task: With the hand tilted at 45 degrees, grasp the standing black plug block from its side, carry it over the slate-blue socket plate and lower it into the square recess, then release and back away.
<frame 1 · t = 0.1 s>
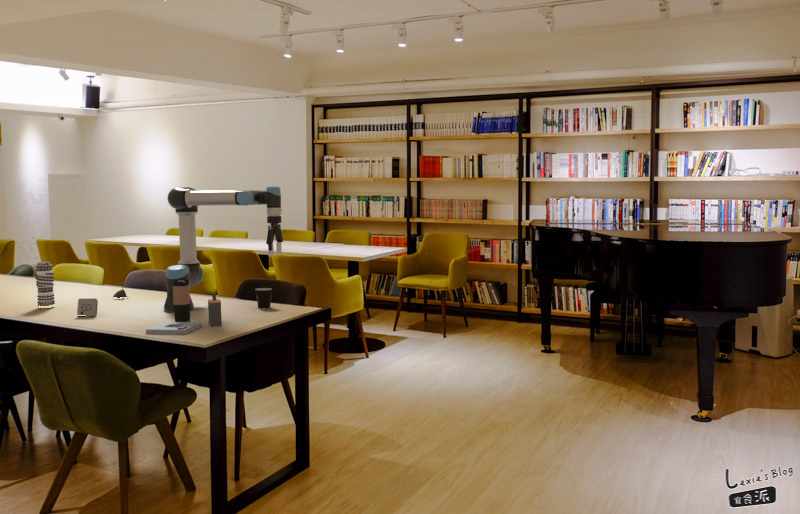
hand: (275, 255, 377), 28 cm above the table, tool pointing down, fingers open, 13 cm apart
socket plate: (174, 330, 321), on the table
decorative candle: (46, 308, 386), on the table
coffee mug: (265, 307, 381), on the table
plug: (215, 325, 332), on the table
sword in stone: (119, 299, 417), on the table
travel mug: (182, 321, 342), on the table
electrical switch: (87, 316, 359), on the table
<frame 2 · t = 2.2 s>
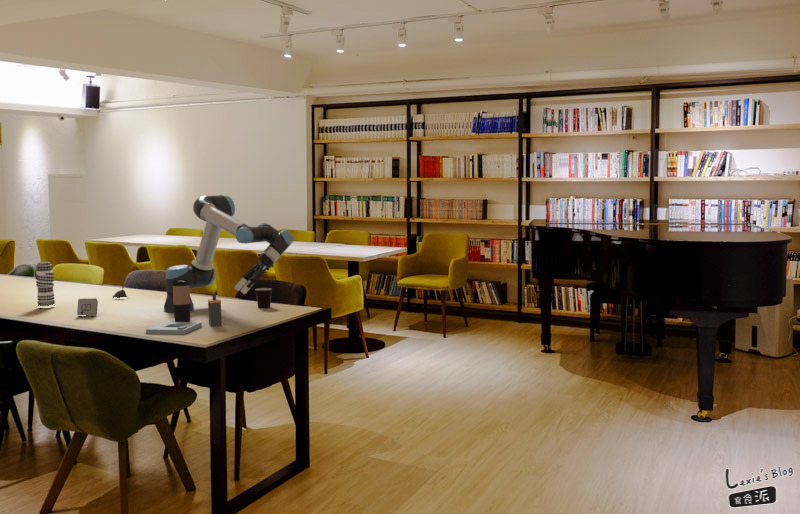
hand: (239, 291, 335), 15 cm above the table, tool tilted 45°, fingers open, 13 cm apart
nothing on the table moved.
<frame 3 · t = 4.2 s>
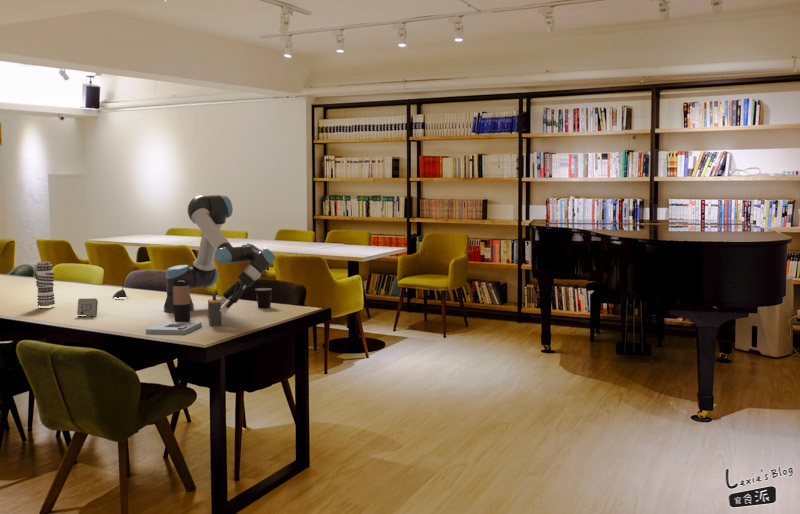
hand: (218, 310, 331), 7 cm above the table, tool tilted 45°, fingers open, 13 cm apart
nothing on the table moved.
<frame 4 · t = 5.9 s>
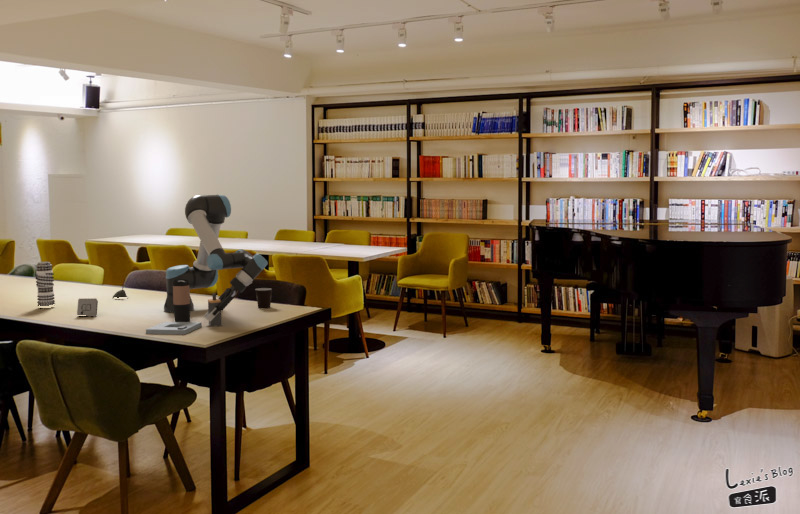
hand: (206, 318, 330), 3 cm above the table, tool tilted 45°, fingers closed on plug, 5 cm apart
plug: (215, 325, 332), on the table, touching gripper
everything else where it was.
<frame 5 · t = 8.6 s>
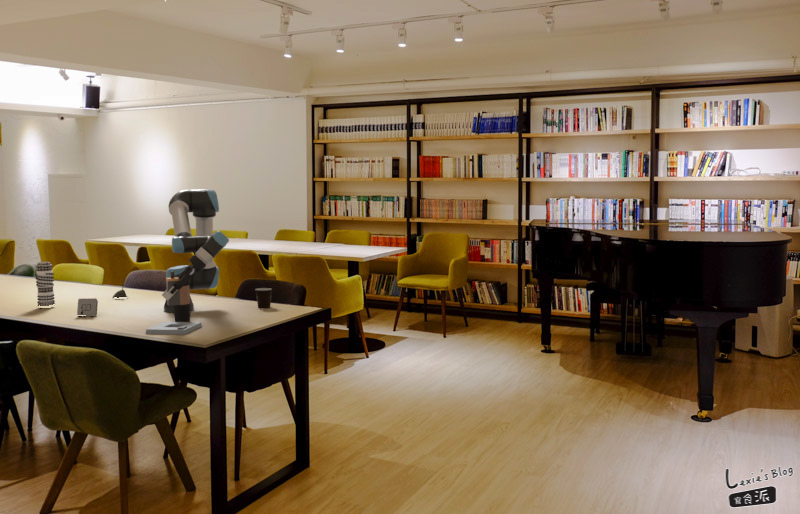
hand: (164, 297, 318), 15 cm above the table, tool tilted 45°, fingers closed on plug, 5 cm apart
plug: (173, 304, 320), point 12 cm above the table, touching gripper
everything else where it was.
when the fingers open (5 cm above the table, at t = 11.2 s): plug stays where it is, point 1 cm above the table.
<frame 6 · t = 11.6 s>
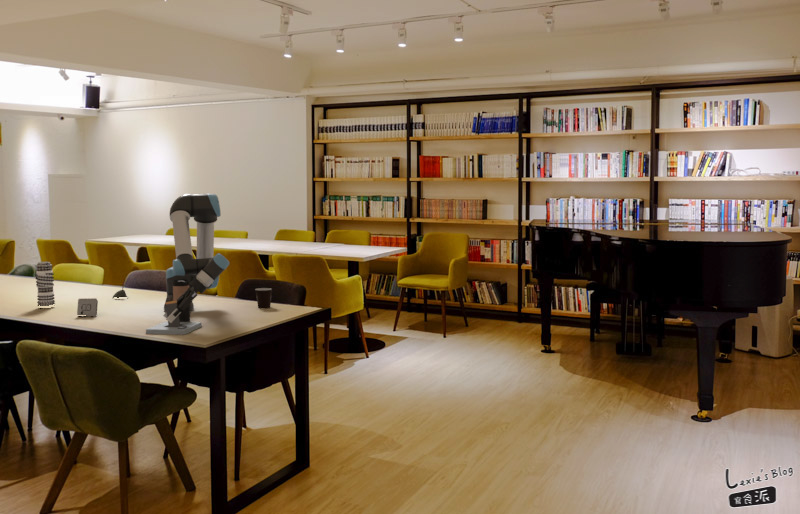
hand: (166, 319, 319), 5 cm above the table, tool tilted 45°, fingers open, 10 cm apart
plug: (174, 327, 320), point 1 cm above the table, tilted 15°
everything else where it was.
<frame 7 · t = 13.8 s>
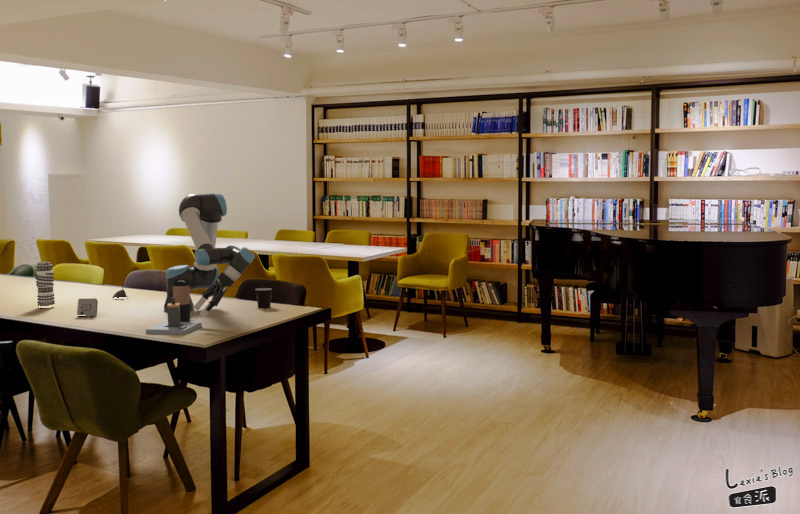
hand: (198, 312, 325), 7 cm above the table, tool tilted 40°, fingers open, 13 cm apart
plug: (174, 330, 321), resting in socket plate
everything else where it was.
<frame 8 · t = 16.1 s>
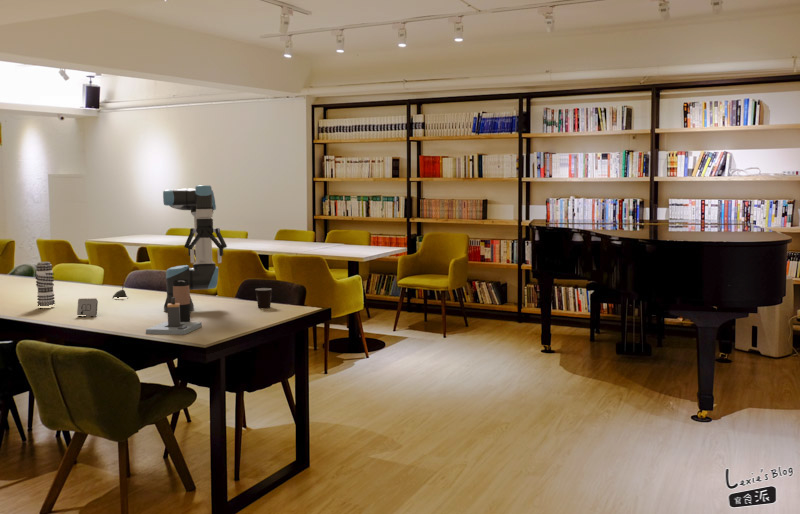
hand: (206, 262, 336), 29 cm above the table, tool pointing down, fingers open, 13 cm apart
nothing on the table moved.
at the end: plug 0.2 cm off-centre on the socket plate, point 0.0 cm above the socket plate's base; plug tilted 0°; the gripper is holding nothing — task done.
